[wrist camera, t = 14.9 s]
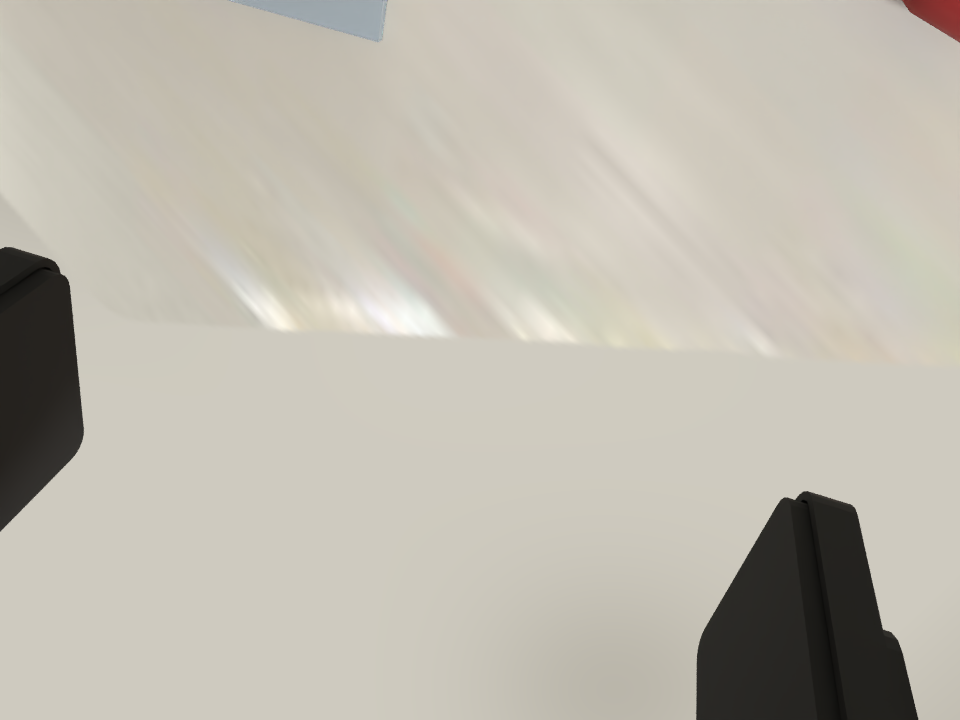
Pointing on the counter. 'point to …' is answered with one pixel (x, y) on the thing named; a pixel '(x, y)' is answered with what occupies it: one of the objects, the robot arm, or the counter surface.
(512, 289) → the counter surface
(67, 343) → the robot arm
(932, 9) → the tomato
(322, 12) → the base board
